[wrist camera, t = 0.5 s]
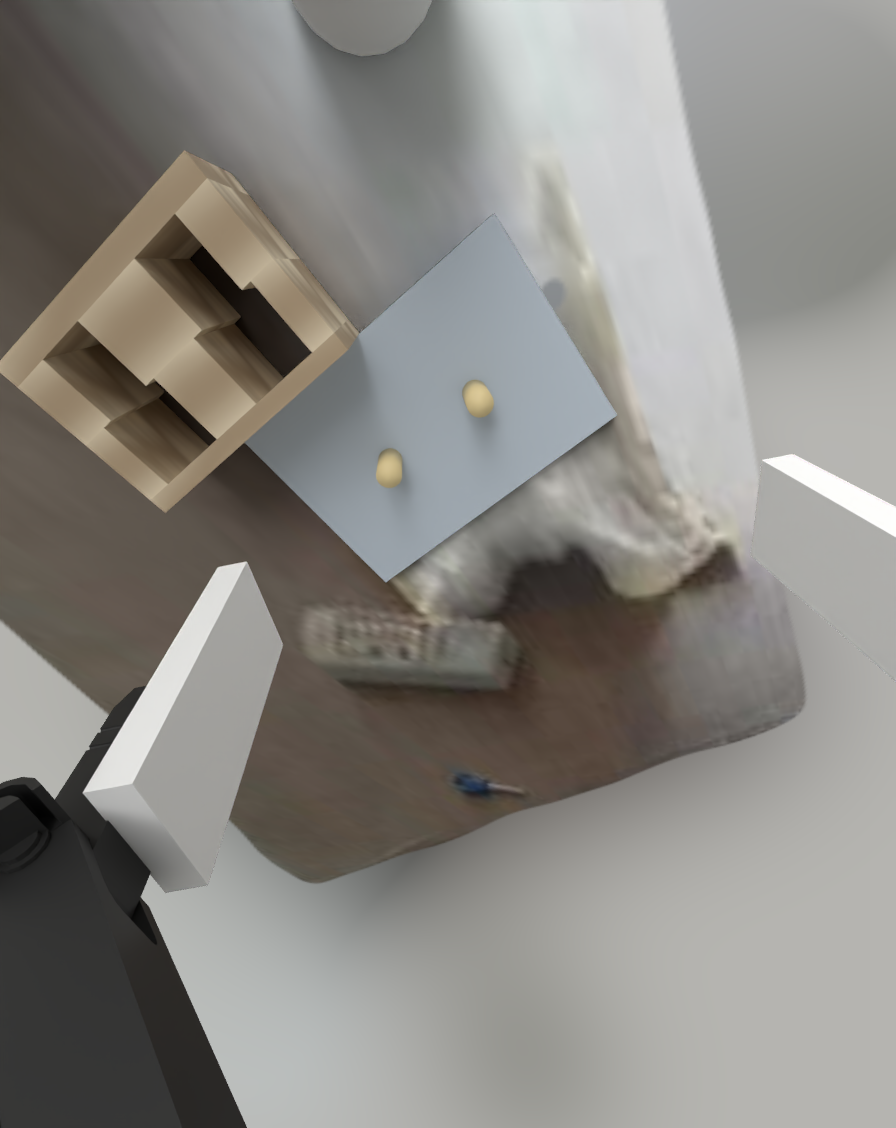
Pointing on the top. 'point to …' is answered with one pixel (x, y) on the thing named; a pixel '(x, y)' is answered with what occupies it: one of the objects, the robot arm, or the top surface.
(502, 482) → the panel
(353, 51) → the can
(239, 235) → the wooden cubby shelf
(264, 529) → the top surface
